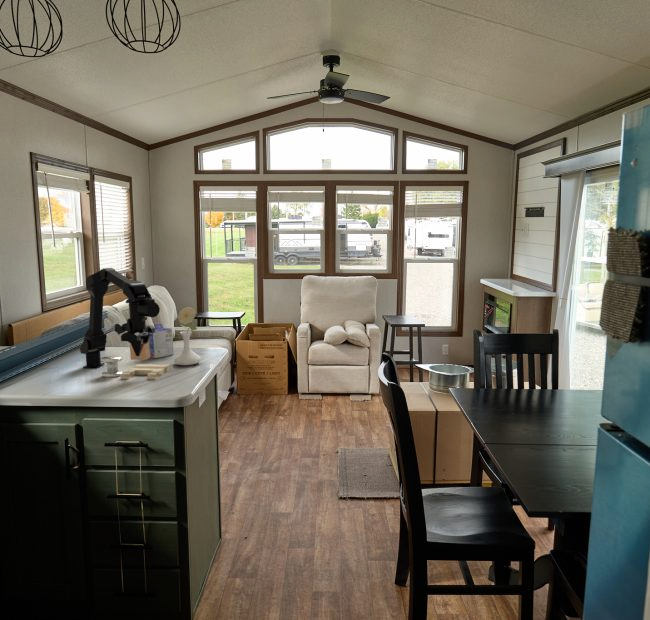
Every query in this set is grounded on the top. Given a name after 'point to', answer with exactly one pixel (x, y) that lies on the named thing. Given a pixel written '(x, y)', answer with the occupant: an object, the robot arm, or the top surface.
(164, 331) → the ink cartridge box
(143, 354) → the wooden block
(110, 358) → the bobbin
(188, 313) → the flower in vase
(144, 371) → the notched board
